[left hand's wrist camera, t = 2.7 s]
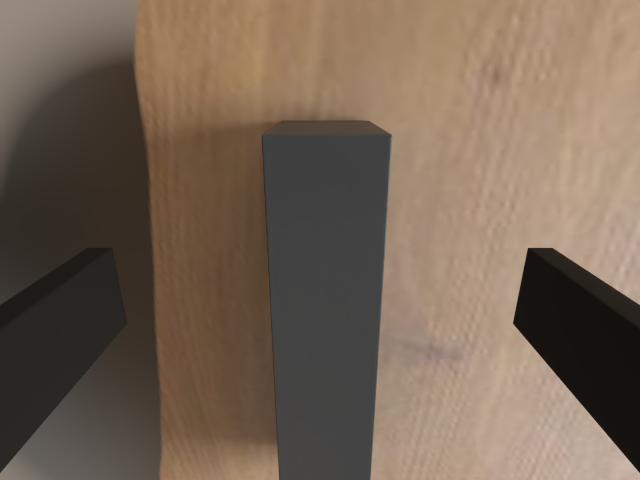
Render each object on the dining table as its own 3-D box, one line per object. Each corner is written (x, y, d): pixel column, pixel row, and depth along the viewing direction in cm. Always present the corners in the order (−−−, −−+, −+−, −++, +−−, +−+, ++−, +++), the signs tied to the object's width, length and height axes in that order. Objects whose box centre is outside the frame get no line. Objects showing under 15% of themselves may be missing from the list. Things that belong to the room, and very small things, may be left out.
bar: (282, 120, 23) (261, 134, 15) (369, 120, 23) (392, 134, 15) (292, 446, 32) (283, 558, 25) (355, 446, 32) (365, 559, 25)
